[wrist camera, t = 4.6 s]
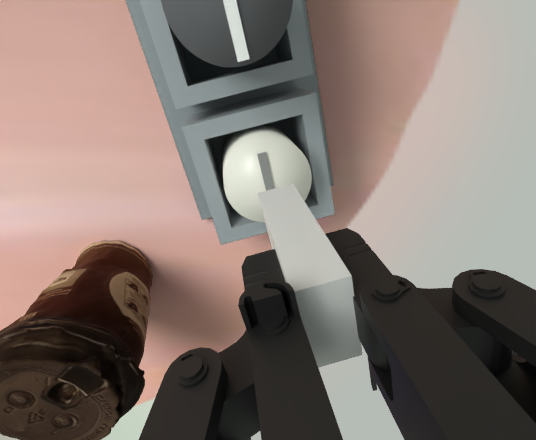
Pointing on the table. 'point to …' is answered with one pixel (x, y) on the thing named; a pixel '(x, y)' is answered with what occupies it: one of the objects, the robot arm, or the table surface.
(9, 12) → the table surface
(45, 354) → the coffee cup
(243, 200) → the knob
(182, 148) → the mount
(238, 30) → the black dial
